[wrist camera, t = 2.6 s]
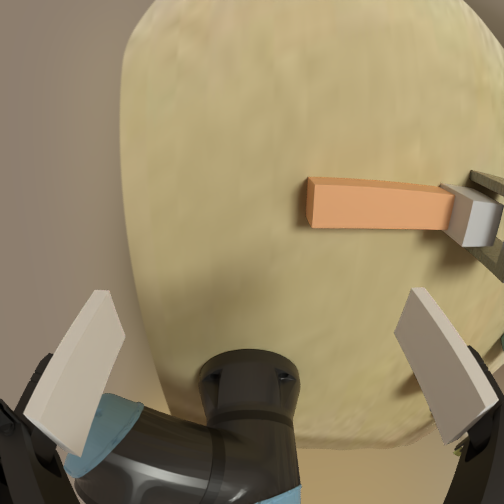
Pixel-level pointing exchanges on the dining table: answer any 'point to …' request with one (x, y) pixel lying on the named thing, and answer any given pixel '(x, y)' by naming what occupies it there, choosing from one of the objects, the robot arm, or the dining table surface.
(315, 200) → the orange bar on cube
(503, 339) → the flower pot
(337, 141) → the dining table surface
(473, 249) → the block
